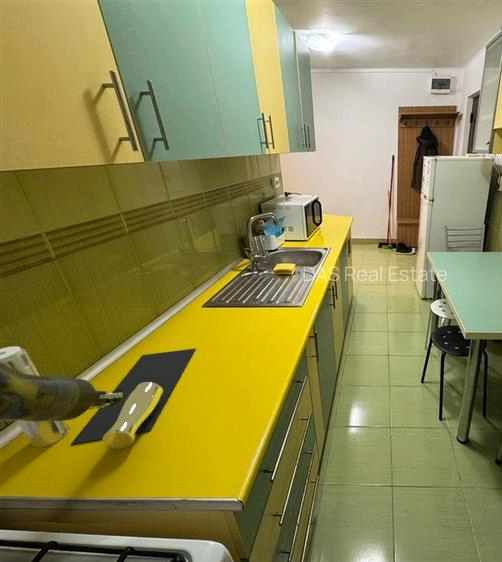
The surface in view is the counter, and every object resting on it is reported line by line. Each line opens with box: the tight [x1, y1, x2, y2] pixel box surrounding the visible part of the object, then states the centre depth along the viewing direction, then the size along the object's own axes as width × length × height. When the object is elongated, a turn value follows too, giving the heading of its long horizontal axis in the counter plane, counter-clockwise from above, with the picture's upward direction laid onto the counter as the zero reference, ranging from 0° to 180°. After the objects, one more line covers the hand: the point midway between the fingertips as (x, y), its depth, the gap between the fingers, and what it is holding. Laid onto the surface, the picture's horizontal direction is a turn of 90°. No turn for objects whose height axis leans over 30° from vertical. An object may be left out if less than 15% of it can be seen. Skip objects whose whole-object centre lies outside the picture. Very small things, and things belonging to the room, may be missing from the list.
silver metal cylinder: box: [0, 346, 70, 449], centre depth 70 cm, size 6×6×25 cm
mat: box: [70, 347, 197, 446], centre depth 90 cm, size 17×36×1 cm, turn 13°
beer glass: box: [102, 382, 163, 450], centre depth 77 cm, size 7×7×15 cm
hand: (115, 401), depth 71 cm, fingers closed
